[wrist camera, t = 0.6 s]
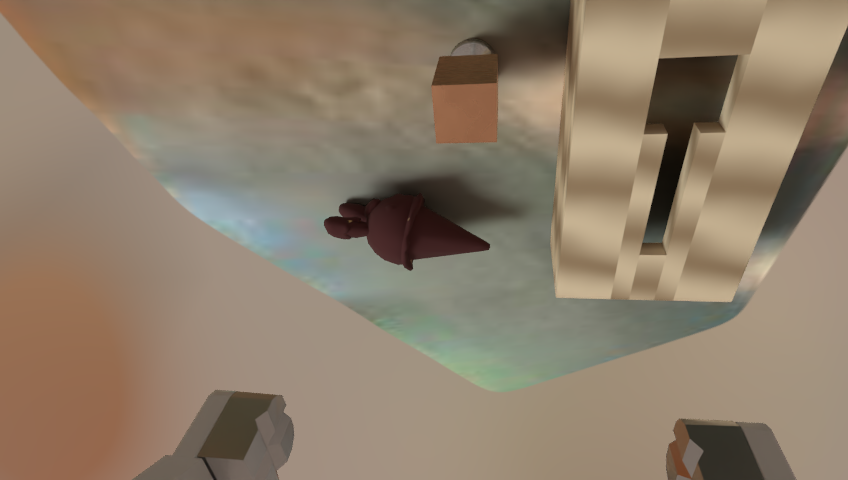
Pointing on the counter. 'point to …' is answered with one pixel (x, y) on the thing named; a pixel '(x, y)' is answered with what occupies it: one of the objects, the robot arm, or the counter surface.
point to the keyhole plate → (707, 150)
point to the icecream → (403, 230)
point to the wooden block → (466, 94)
